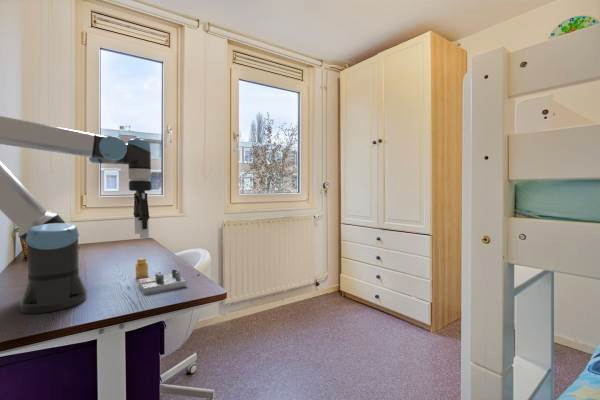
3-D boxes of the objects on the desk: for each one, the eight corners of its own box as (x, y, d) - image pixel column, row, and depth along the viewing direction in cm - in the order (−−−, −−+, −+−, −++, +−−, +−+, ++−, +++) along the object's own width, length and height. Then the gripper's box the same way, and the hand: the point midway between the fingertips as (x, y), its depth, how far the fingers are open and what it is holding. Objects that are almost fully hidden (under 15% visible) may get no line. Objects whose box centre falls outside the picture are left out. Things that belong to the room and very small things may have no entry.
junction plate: (144, 294, 95) (144, 280, 95) (138, 284, 104) (138, 272, 104) (186, 286, 102) (185, 273, 102) (177, 278, 112) (176, 266, 112)
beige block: (136, 279, 111) (136, 260, 111) (135, 276, 114) (134, 258, 114) (149, 277, 113) (148, 259, 113) (147, 274, 117) (146, 257, 117)
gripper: (157, 179, 105) (158, 238, 106) (145, 181, 125) (146, 231, 126) (133, 179, 100) (135, 241, 101) (125, 181, 120) (126, 232, 121)
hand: (141, 235), depth 113 cm, fingers open, 13 cm apart
